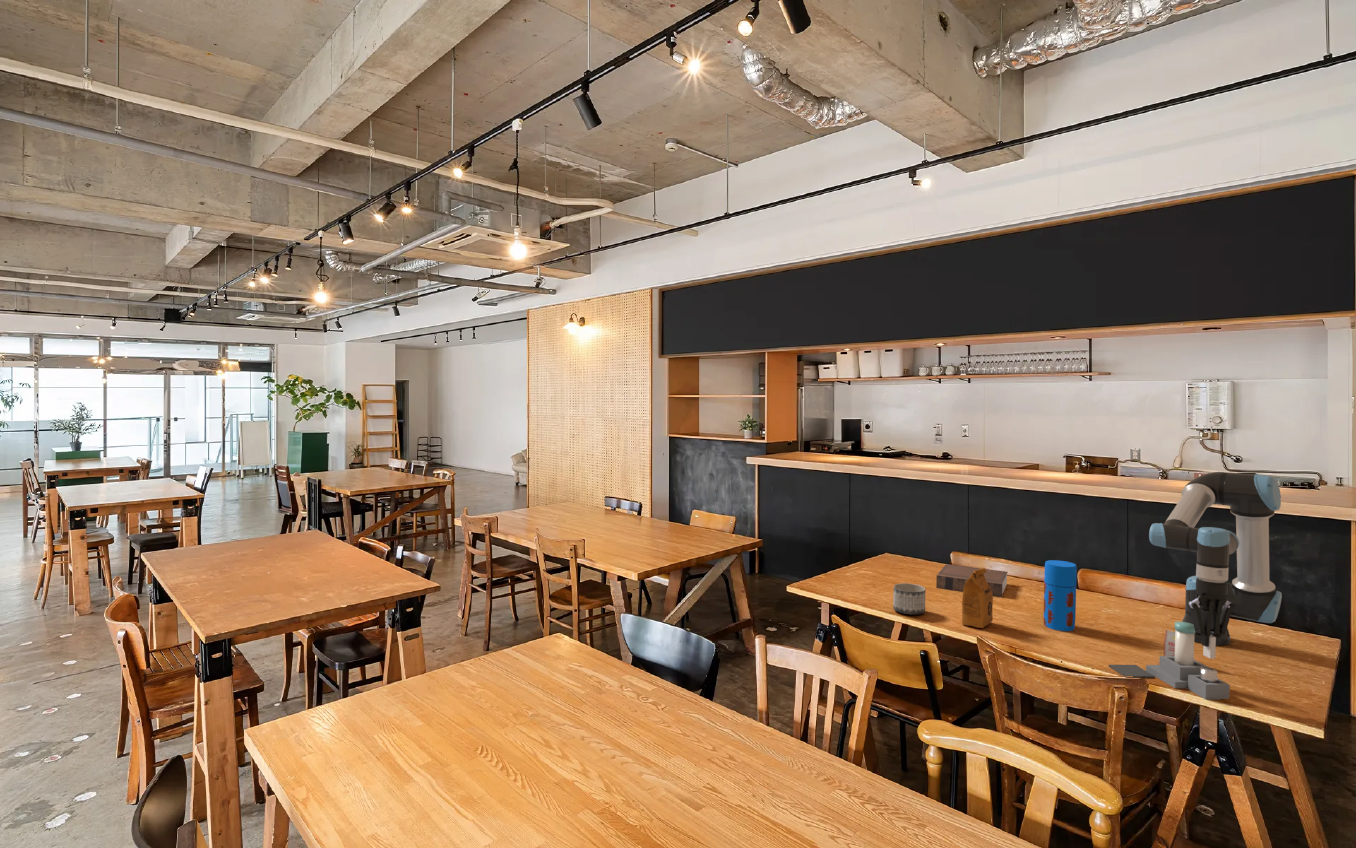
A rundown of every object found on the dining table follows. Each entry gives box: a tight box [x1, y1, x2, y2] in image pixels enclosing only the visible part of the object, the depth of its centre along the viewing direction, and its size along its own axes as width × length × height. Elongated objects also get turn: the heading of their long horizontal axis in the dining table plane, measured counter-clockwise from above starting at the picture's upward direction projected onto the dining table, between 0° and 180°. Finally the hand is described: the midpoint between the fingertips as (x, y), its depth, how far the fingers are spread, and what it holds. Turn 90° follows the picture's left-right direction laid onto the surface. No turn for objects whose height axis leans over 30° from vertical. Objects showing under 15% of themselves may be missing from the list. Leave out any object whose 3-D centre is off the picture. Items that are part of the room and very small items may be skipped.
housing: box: [1145, 655, 1231, 700], centre depth 207 cm, size 20×14×6 cm
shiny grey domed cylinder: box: [1200, 667, 1218, 683], centre depth 200 cm, size 4×4×5 cm
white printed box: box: [1163, 629, 1175, 656], centre depth 225 cm, size 4×7×10 cm, turn 39°
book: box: [935, 563, 1009, 598], centre depth 315 cm, size 24×28×7 cm
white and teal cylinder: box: [1174, 621, 1195, 666], centre depth 210 cm, size 5×5×16 cm
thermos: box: [1043, 559, 1078, 632], centre depth 259 cm, size 11×11×25 cm
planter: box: [892, 582, 926, 616], centre depth 277 cm, size 13×13×10 cm
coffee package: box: [961, 567, 994, 629], centre depth 262 cm, size 10×12×22 cm
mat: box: [1108, 664, 1156, 679], centre depth 217 cm, size 9×9×1 cm
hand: (1209, 656), depth 200 cm, fingers closed
